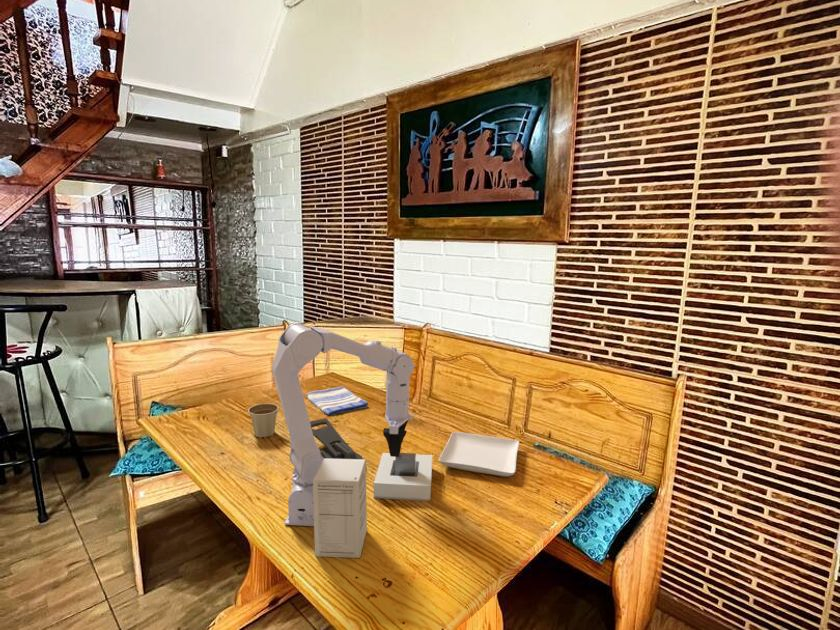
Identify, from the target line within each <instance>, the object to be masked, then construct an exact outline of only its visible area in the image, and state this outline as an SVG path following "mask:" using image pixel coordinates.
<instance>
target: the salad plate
mask: <svg viewBox="0 0 840 630" xmlns="http://www.w3.org/2000/svg"><path fill="white" fill-rule="evenodd" d="M519 447H520V441H519V440H516V439H509V438H503V437H496V436H490V435H483V434H476V433H467V432H460V431H453V432H451V434H450V436H449V438H448V441H447V443H446V444H445V446H444V448H443V450H442V452H441V454H440V455H439V457H438V462H439V463H440V464H442V465H443V466H446V467H448V468H453V469H457V470H462V471H468V472H473V473H480V474H486V475H494V476H499V477H511V476H513V475H514V474H515V473H516V471H517V457H518V453H519V452H518V451H519Z"/></svg>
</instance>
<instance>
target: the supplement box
mask: <svg viewBox="0 0 840 630" xmlns="http://www.w3.org/2000/svg"><path fill="white" fill-rule="evenodd" d="M313 504H314V507H313V509H314V526H313V535H314V538H313V539H314V540H313V541H314V556H315V557H322V558H323V557H325V558H326V557H327V558H329V557H330V558H350V559H351V558H352V559H355V558H356V559H360V558H361V554H362V551H363V548H364V543H365V540H366V536H367V530H368V528H367V526H368V523H367V520H368V519H367V514H368V513H367V460H366V459H364V458H363V459H326V458H324V460H323V462H322V464H321V466H320V468H319V470H318V472H317V474H316V476H315V478H314V479H313Z"/></svg>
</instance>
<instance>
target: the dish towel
mask: <svg viewBox="0 0 840 630" xmlns="http://www.w3.org/2000/svg"><path fill="white" fill-rule="evenodd" d="M305 397H306V398H307V399H308V401H310V402H311V404H312V405H314V406H315V407H316V408H318V409H319V410H320V411H321V412H323V413H324V414H325V415H327V416H334V415H339V414H345V413H349V411H350V412H354V410H355V411H359V410H364V409H368V405H369V403H368V402H367V400H364V399H362V398H361V397H359V396H357V395H355V394H354V393H353V392H352V391H351V390H349V389H347V388H345V387H344V385H342V386H338V387H332V388H325V389H320V390H313V391H310V392H307V393H306V395H305ZM363 408H364V409H363ZM358 409H359V410H358Z"/></svg>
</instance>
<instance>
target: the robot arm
mask: <svg viewBox="0 0 840 630" xmlns="http://www.w3.org/2000/svg"><path fill="white" fill-rule="evenodd" d="M277 344H278V345H277V349H276V351H275V356H274V359H273V362H272V364H271V365H272V366H271V372H272V376H273V379H274V383H275V385H276V387H275V388H276V390H277V394H278V396H279V401H280V404H281V408H282V411H283V415H284V419H285V423H286V426H287V430H288V434H289V437H290V441H289V445H290V452H289V461H290V463H291V464H292V466H294V469H293V471H292V475H291V476H292V477H291V479H292V480H291V481H292V489H291V492H290V493H289V495H288V500H287V504H288V516H287V518H286V519H285V521H284V524H285V525H288V526H300V527H301V526H303V527H304V526H305V527H314V509H313V507H314V504H313V479H314V478H315V476H316V474H317V472H318V470H319V468H320V466H321V464H322V462H323V460H324V458H323V457H322V456H321V450H320V447H319V446H318V443H317V441H316V439H315V436H314V435H313V432H312V429H313V427H312V428H311V424H310V422H311V421H310V416H309V412H308V410H307V405H306V401H305V397H304V394H303V389H302V386H301V382H300V379H299V373H300V372H301V371H302V369H303V368H304V367H305V366H307V365H308V364H309V363H310V362H311V361H313V360H314V359H315V358H316V357H318V355H319V354H320V353H323V354H325V353H328V352H330V351H331V350H335V351H339V352H342V353H345V354H349V355H351V356H356V357H358V358H359V361H360V362H361V364H363V365H364V366H365V365H366V366H368V367H371V368H375V369H378V370H381V371H384V372H386V381H385V382H386V385H385V386H386V390H385V391H386V392H385V393H386V395H385V396H386V397H385V414H384V419H385V420H386V422H387V424H388V426H389V427H387V428H386V427H384V428H383V431H382V434H383V436H384V438H385V440H386V442H387V446H388V451H389V452H388V453H390V456H392V457H399V454H400V453H401V450H402V445H403V444H402V443H403V442H404V441H403V440H404V439H405V436H406V435H407V430H406V427H407V424H408V422H409V420H410V421H411V420H413V418H414V414H413V413H409V407H410V381H411V375H412V373H413V372H414V369H415V363H414V362H413V358H412V357H411V356H410V355H409V354H407V353H405V352H402V351H400V350H398V348H396V347H394V346H391V347H389V346H385V345H383V344H382V341H379V340H378V339H374V340H368V341H366V342H363V343H361V342H359V341H356V340H354V339H351V338H349V337H346V336H343V335H341V334H338V333H336V332H333V331H331V330H328V329H324V328H321V327H318V326H317V327H316V326H311V325H308V327H307V326H306V325H305V324H303V323H301V322H300V323H297V322H296V323H295V322H294V323H292V324H290V325H288V326H286V328H285V330H284V331H283V332H282V333H281V334H280V335H279V336H278V343H277Z"/></svg>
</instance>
